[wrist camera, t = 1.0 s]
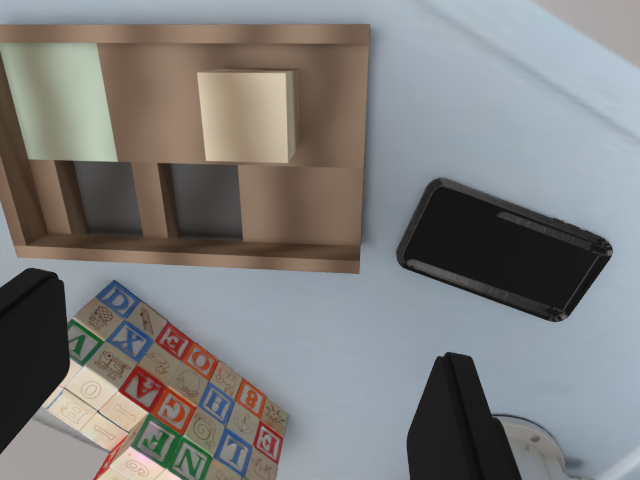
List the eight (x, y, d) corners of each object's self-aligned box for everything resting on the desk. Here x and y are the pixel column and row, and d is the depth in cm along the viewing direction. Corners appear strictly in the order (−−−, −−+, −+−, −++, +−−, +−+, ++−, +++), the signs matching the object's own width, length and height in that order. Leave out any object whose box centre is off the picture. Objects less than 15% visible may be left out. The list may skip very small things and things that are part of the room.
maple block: (298, 68, 29) (285, 73, 25) (299, 145, 31) (287, 163, 27) (223, 68, 30) (196, 72, 25) (229, 143, 32) (205, 160, 27)
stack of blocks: (80, 318, 43) (-23, 416, 31) (114, 277, 40) (16, 368, 29) (252, 444, 47) (215, 569, 36) (291, 413, 45) (265, 537, 34)
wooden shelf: (369, 27, 30) (369, 24, 25) (360, 244, 36) (359, 273, 32) (7, 27, 32) (-53, 24, 28) (58, 232, 39) (17, 257, 34)
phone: (562, 325, 37) (392, 264, 36) (556, 318, 38) (391, 258, 37) (620, 244, 34) (434, 175, 33) (612, 238, 35) (432, 171, 34)
